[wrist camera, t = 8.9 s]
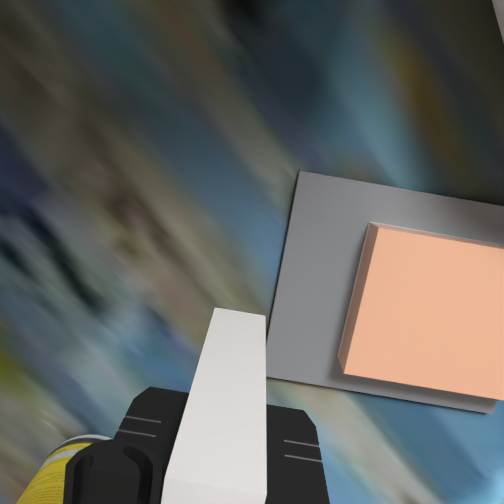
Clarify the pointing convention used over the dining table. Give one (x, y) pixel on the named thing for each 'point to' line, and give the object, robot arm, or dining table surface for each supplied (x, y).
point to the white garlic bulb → (499, 14)
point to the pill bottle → (55, 472)
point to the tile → (427, 312)
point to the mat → (354, 276)
